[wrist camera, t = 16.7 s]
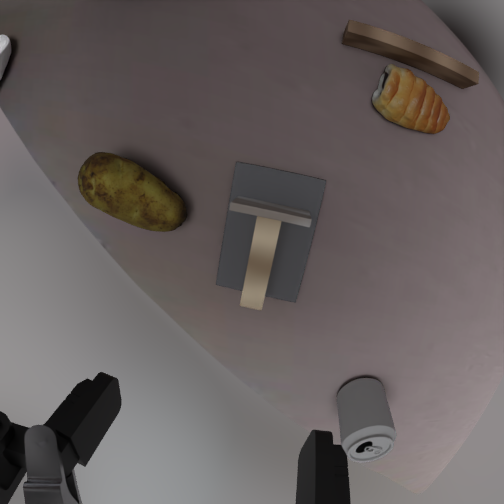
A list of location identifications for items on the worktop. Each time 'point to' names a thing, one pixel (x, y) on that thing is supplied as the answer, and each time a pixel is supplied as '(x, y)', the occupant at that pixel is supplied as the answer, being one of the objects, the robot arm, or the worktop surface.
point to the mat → (290, 235)
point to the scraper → (264, 243)
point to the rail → (409, 53)
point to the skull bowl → (4, 53)
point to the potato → (130, 193)
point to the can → (365, 420)
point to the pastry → (409, 101)
